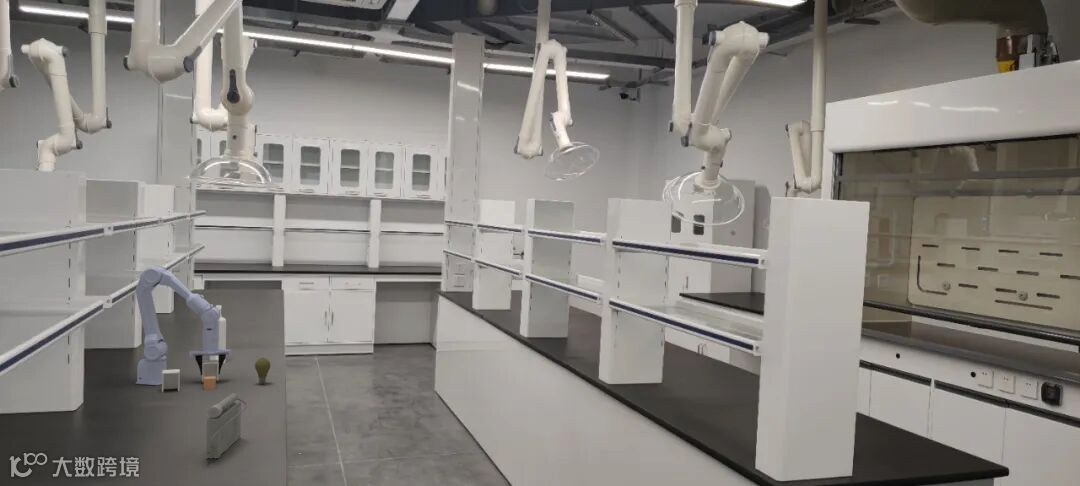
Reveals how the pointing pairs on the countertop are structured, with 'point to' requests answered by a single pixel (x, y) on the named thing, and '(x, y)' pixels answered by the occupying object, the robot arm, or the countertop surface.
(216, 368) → the right cover
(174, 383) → the left cover
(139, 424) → the countertop surface
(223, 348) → the white bottle
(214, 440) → the geiger counter
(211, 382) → the cube
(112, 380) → the countertop surface
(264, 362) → the light bulb
